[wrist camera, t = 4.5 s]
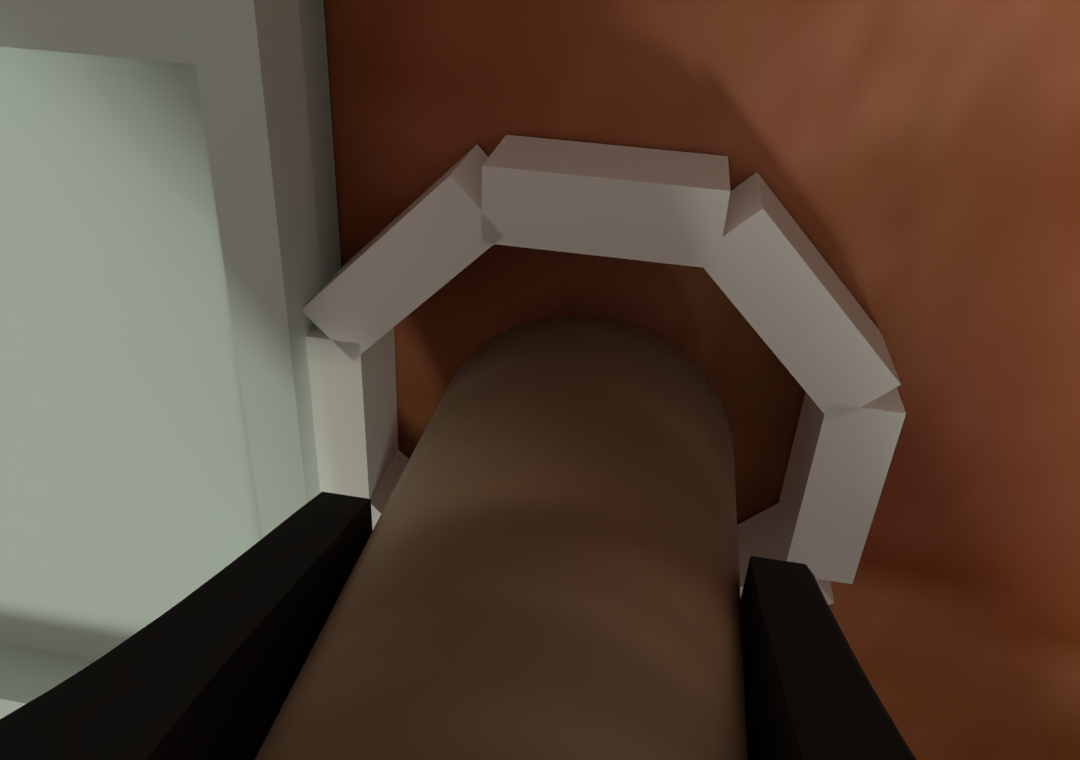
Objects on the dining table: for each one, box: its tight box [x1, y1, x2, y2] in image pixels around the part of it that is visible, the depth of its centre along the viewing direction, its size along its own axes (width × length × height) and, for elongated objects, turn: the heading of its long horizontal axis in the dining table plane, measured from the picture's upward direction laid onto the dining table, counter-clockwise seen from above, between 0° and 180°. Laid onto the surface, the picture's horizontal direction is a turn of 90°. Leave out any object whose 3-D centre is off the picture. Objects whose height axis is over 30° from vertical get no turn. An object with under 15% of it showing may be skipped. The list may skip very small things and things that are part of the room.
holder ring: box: [303, 135, 906, 605], centre depth 13 cm, size 8×8×2 cm
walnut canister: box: [255, 317, 748, 760], centre depth 9 cm, size 4×4×8 cm
